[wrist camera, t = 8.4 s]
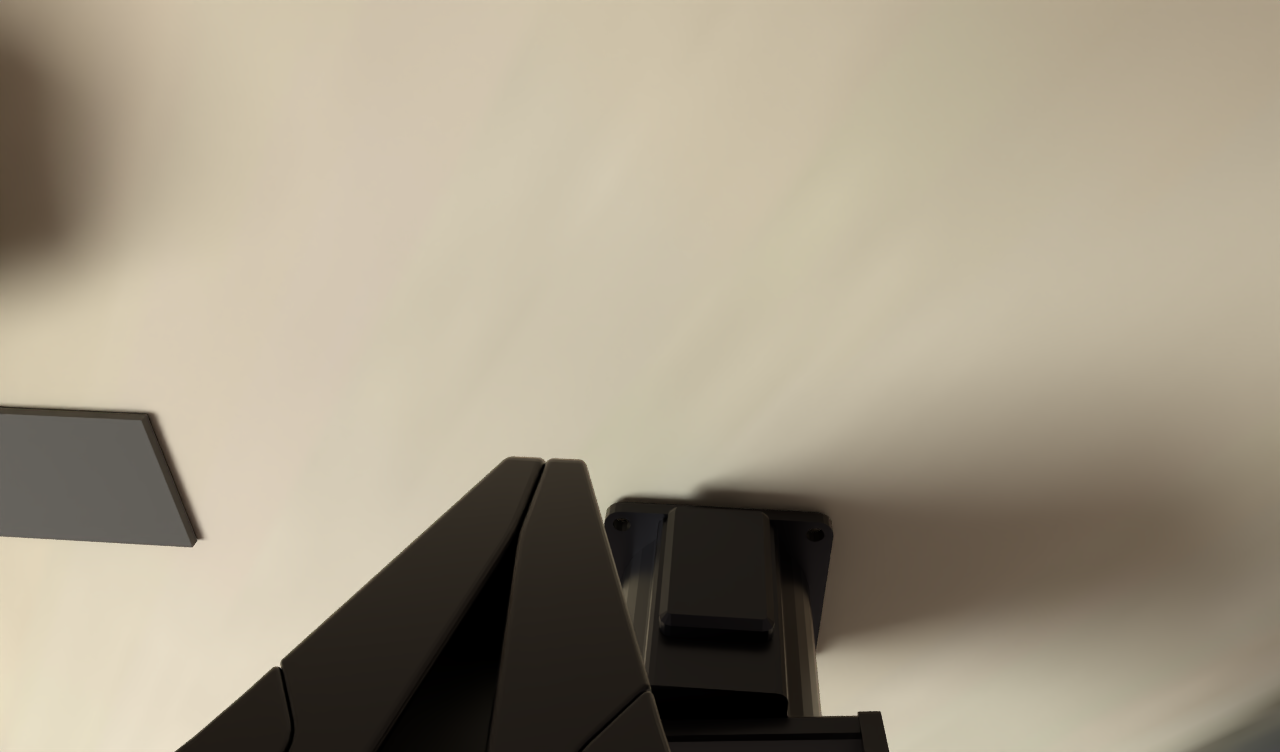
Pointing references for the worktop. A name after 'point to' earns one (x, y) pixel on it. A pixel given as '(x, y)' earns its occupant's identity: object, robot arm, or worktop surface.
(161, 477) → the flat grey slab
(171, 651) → the worktop surface
